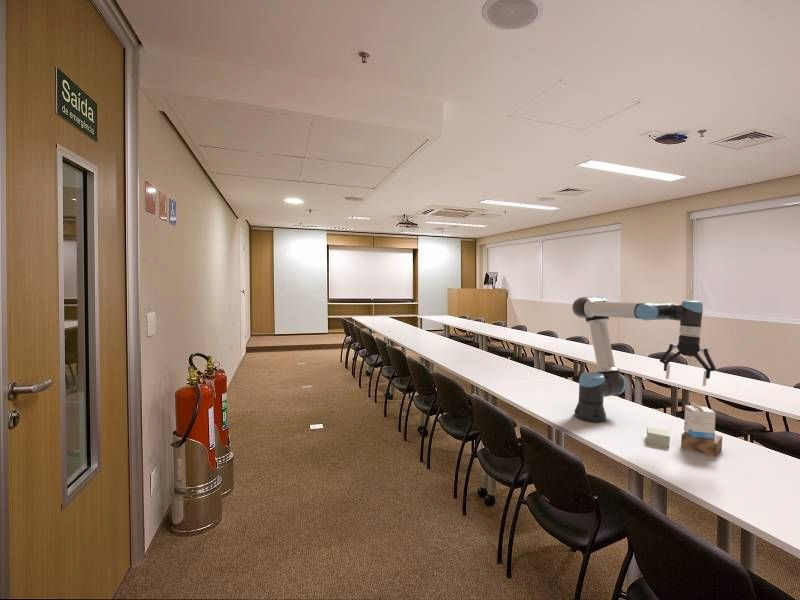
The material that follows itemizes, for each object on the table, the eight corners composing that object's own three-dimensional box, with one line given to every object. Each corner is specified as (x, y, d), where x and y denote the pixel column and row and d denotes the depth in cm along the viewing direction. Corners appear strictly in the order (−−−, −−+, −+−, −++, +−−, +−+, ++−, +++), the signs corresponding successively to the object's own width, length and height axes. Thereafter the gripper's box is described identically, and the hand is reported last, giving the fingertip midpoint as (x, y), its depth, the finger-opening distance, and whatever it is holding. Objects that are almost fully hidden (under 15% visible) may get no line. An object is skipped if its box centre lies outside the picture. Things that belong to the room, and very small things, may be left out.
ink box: (715, 439, 162) (717, 408, 162) (691, 437, 164) (693, 406, 164) (705, 432, 170) (707, 402, 170) (683, 430, 173) (684, 400, 172)
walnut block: (680, 448, 168) (681, 434, 167) (687, 440, 176) (688, 428, 175) (715, 457, 159) (716, 443, 158) (721, 449, 167) (722, 436, 166)
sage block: (647, 443, 171) (648, 432, 171) (646, 437, 178) (647, 426, 178) (669, 447, 167) (669, 436, 167) (667, 441, 174) (668, 430, 174)
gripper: (654, 332, 177) (650, 376, 179) (724, 340, 159) (719, 390, 161) (659, 330, 183) (655, 374, 184) (727, 338, 164) (722, 387, 166)
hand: (685, 381), depth 172 cm, fingers open, 13 cm apart
